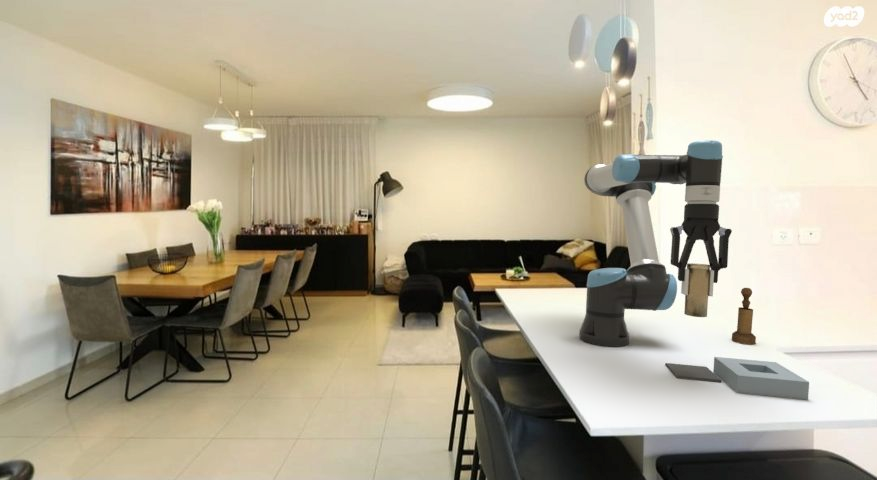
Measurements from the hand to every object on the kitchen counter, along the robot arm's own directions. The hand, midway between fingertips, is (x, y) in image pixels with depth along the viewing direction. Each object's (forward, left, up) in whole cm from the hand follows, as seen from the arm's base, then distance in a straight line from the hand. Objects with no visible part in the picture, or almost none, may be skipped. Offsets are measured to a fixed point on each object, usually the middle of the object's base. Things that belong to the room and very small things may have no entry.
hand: (696, 294), depth 111 cm
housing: (+13, -4, -21) cm, 25 cm away
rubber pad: (0, 0, -20) cm, 20 cm away
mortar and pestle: (+28, +39, -21) cm, 52 cm away
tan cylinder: (0, 0, -5) cm, 5 cm away
